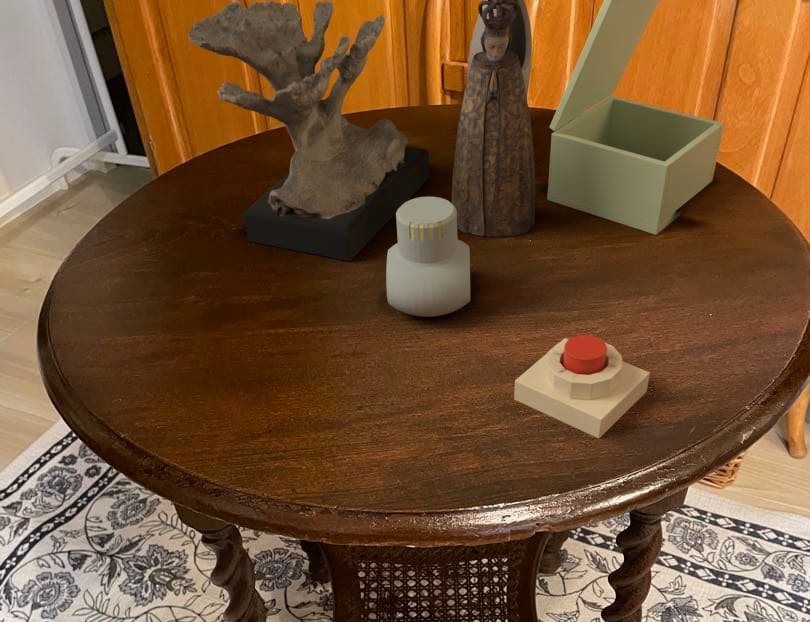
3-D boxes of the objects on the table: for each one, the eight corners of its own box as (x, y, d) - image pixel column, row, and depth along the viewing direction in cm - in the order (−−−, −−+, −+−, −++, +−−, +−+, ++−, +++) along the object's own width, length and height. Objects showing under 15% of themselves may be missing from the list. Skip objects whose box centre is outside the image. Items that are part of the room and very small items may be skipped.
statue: (474, 249, 96) (474, -4, 78) (444, 220, 101) (438, -25, 82) (542, 229, 98) (557, -23, 80) (509, 201, 103) (517, -42, 84)
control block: (646, 392, 78) (653, 355, 75) (598, 439, 74) (603, 402, 71) (563, 356, 82) (566, 321, 79) (513, 399, 78) (515, 363, 75)
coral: (334, 279, 94) (304, 68, 78) (186, 244, 101) (131, 44, 85) (435, 178, 108) (428, -17, 92) (299, 154, 115) (271, -32, 99)
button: (612, 360, 76) (615, 344, 74) (590, 381, 74) (592, 364, 73) (577, 346, 77) (579, 329, 76) (554, 366, 76) (556, 349, 74)
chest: (710, 190, 102) (724, 122, 96) (656, 235, 96) (667, 166, 90) (604, 159, 109) (611, 95, 103) (547, 199, 103) (551, 133, 97)
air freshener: (393, 274, 94) (386, 184, 86) (469, 271, 93) (468, 181, 86) (388, 332, 87) (380, 240, 79) (470, 330, 86) (470, 237, 79)
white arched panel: (511, 186, 106) (516, 15, 92) (454, 182, 107) (451, 14, 93) (537, 122, 117) (545, -38, 103) (486, 119, 119) (487, -39, 105)
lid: (679, -40, 89) (642, -67, 90) (614, -5, 83) (575, -34, 84) (614, 93, 103) (582, 68, 103) (554, 131, 97) (521, 105, 97)
